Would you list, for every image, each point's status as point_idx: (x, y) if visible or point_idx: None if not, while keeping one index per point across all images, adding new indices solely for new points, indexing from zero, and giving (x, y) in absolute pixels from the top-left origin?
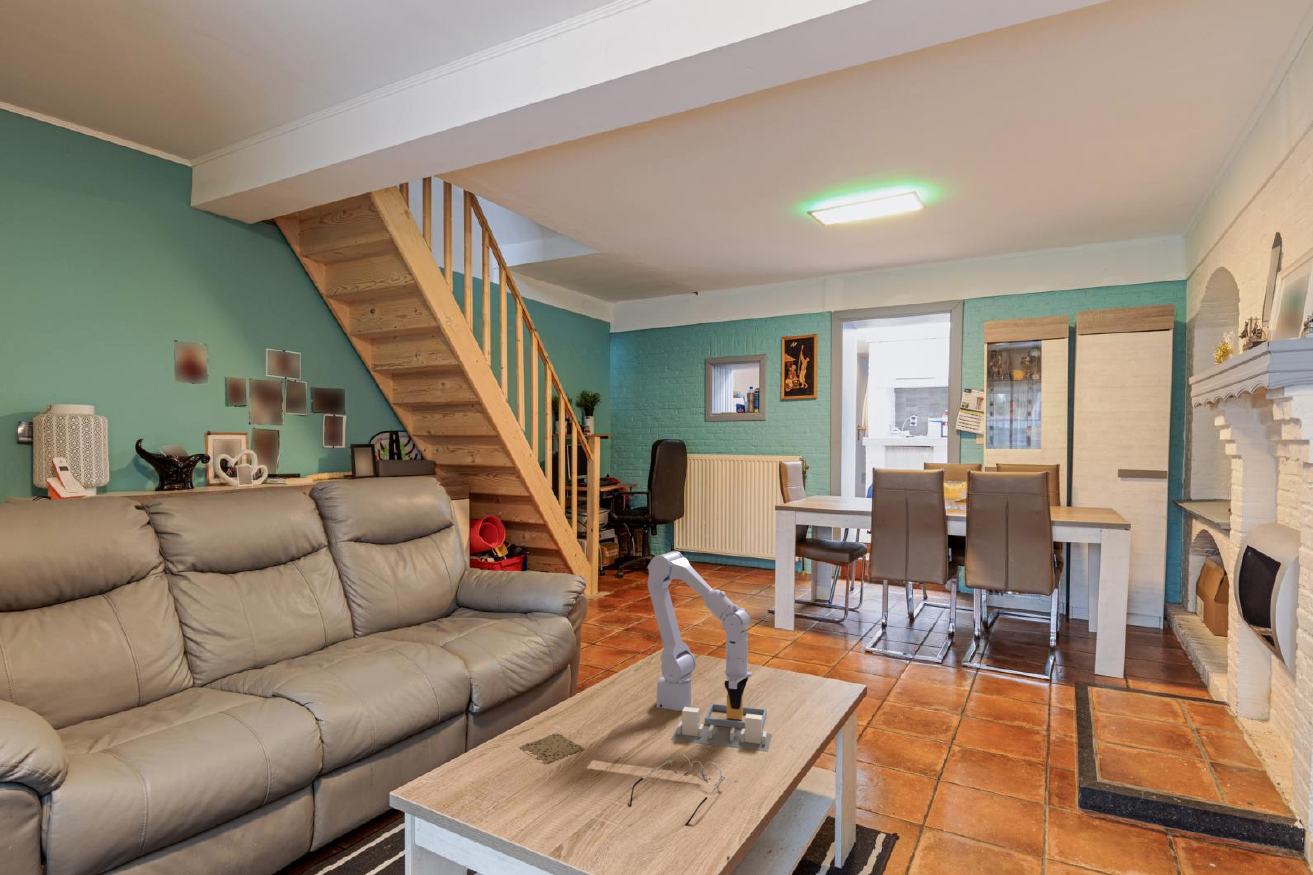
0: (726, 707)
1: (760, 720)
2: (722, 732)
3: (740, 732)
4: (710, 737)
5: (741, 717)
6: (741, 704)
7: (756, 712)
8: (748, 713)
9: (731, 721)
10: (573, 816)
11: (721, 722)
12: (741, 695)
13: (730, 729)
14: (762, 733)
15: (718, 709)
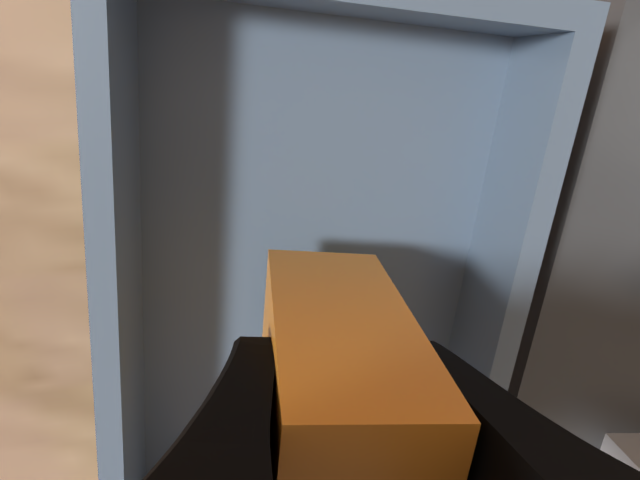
0: (126, 433)
1: None
2: (599, 377)
3: (603, 238)
4: None
5: (381, 265)
6: (428, 345)
7: (122, 92)
8: (129, 188)
9: (514, 351)
10: None
11: None
12: (635, 471)
13: (544, 326)
14: (636, 14)
15: (137, 478)
